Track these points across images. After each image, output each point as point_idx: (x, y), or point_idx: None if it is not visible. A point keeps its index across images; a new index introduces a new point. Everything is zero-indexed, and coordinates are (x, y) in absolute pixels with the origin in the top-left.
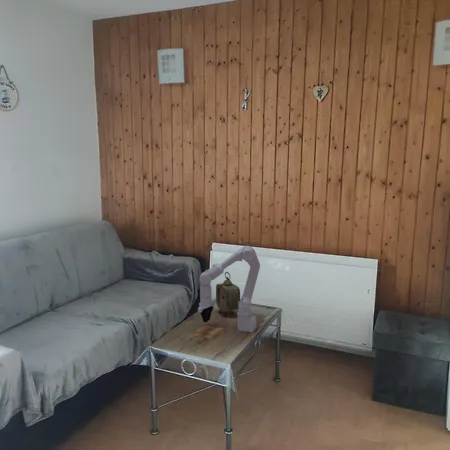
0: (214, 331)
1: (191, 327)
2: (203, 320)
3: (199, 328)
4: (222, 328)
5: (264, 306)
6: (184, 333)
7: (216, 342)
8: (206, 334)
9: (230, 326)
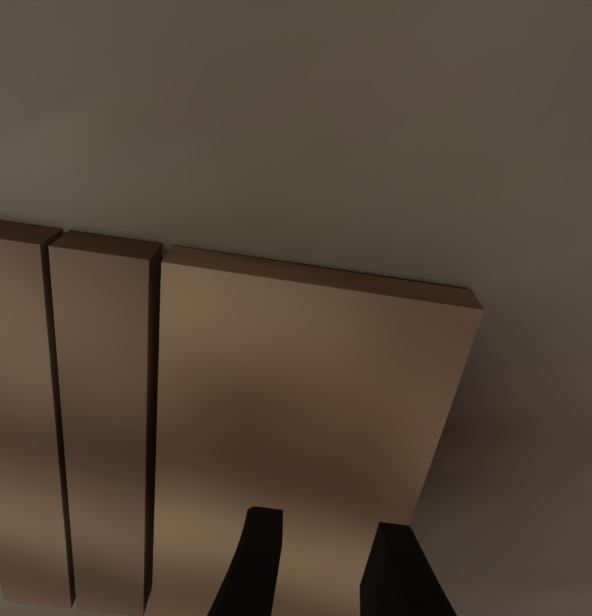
0: None
1: (441, 48)
2: (238, 547)
3: (296, 301)
4: None
5: None
6: (62, 10)
7: None
8: (91, 473)
9: (544, 612)
